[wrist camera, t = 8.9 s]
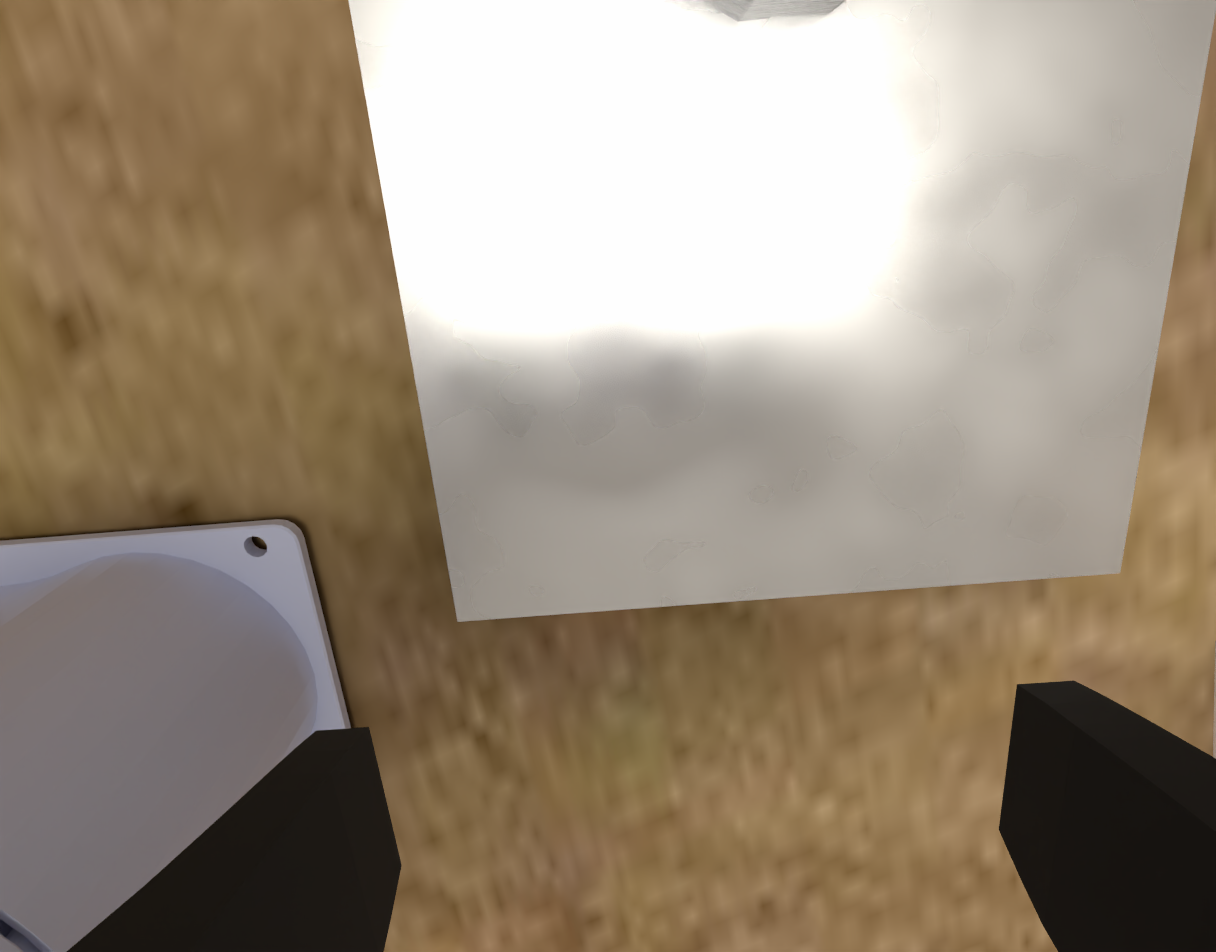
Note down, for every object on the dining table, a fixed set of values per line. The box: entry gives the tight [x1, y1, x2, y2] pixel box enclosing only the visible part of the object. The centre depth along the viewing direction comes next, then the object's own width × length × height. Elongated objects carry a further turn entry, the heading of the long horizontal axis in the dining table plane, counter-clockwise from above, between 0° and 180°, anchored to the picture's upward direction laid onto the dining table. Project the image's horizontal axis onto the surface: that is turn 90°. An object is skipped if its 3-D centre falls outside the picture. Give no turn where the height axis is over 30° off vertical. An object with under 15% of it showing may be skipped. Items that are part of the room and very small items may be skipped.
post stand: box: [349, 0, 1216, 622], centre depth 12 cm, size 15×21×6 cm
